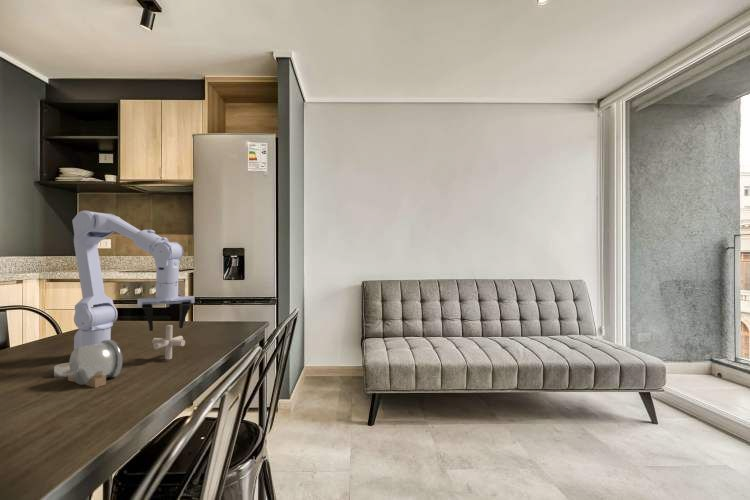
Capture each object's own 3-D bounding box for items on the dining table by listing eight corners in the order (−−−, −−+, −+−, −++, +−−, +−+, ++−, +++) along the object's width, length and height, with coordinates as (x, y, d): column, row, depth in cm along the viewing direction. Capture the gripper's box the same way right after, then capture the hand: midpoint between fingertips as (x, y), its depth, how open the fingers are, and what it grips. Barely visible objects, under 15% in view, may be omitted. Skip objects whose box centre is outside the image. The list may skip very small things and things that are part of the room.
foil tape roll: (49, 375, 95) (49, 365, 95) (71, 370, 100) (72, 360, 100) (60, 378, 93) (61, 368, 93) (83, 372, 98) (83, 363, 98)
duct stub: (66, 382, 91) (67, 343, 91) (97, 374, 98) (98, 337, 98) (93, 389, 87) (94, 348, 87) (123, 380, 93) (124, 341, 93)
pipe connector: (170, 364, 105) (171, 330, 105) (140, 362, 107) (141, 328, 107) (194, 355, 115) (194, 323, 115) (166, 353, 117) (167, 321, 117)
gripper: (139, 284, 101) (137, 334, 101) (196, 283, 109) (195, 328, 109) (137, 282, 106) (136, 329, 106) (192, 281, 115) (191, 324, 115)
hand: (166, 328), depth 108 cm, fingers open, 7 cm apart
